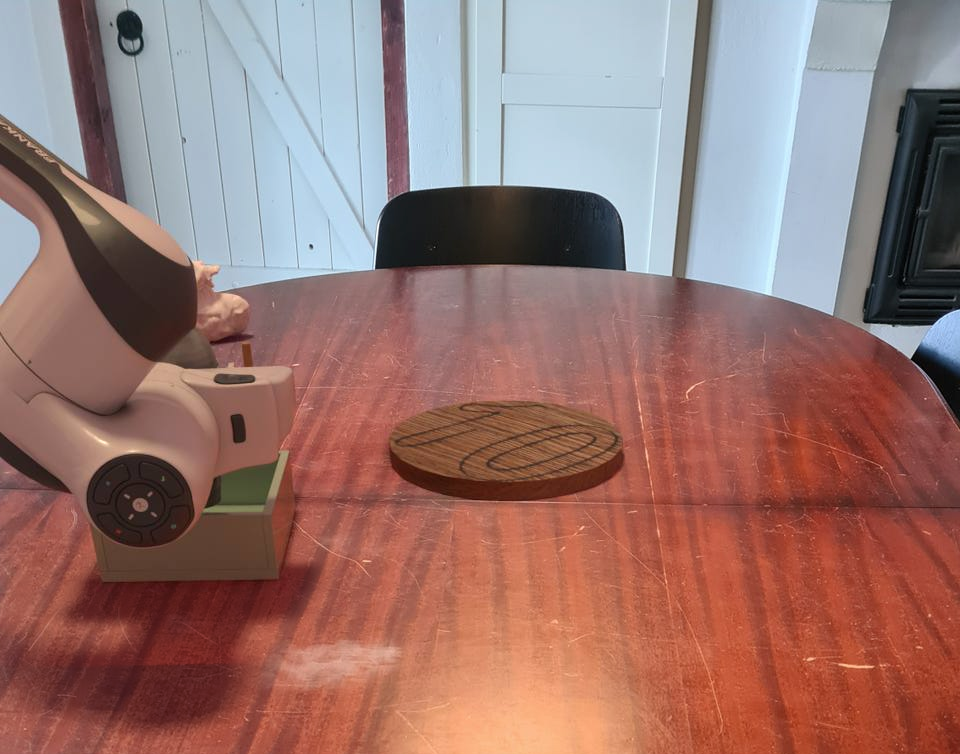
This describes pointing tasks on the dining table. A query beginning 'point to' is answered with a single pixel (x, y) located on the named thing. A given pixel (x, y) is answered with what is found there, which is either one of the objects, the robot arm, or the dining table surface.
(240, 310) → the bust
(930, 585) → the dining table surface
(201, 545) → the open box
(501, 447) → the trivet
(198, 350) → the beverage cup
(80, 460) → the robot arm
